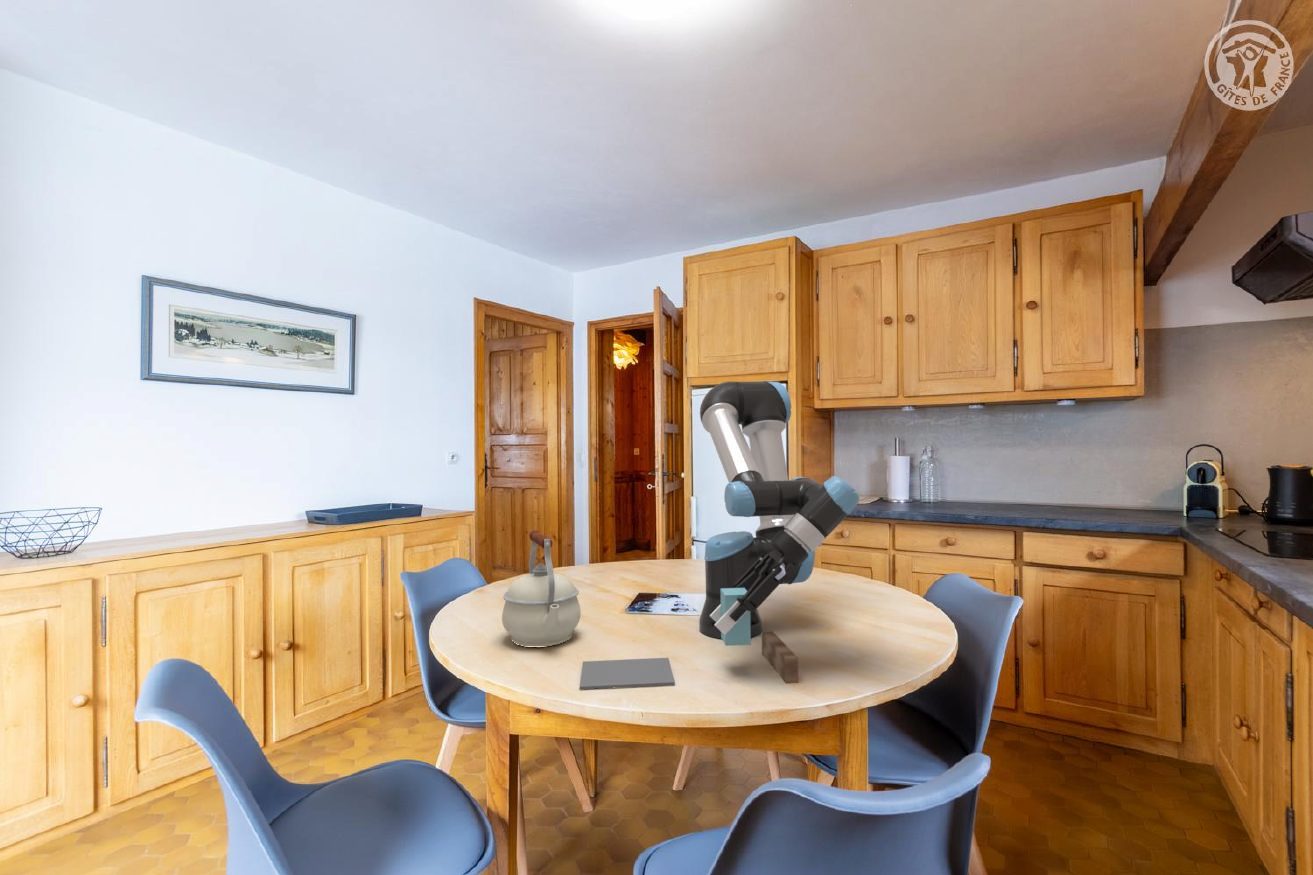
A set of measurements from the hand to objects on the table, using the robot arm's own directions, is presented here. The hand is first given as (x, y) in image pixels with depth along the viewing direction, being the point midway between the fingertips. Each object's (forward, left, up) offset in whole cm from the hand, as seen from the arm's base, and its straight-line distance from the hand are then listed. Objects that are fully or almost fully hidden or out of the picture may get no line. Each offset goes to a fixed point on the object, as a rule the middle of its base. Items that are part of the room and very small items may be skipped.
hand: (717, 624), depth 120 cm
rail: (-1, +13, -10) cm, 16 cm away
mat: (-1, -18, -9) cm, 21 cm away
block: (0, +4, -3) cm, 5 cm away
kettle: (-24, -37, -9) cm, 45 cm away
